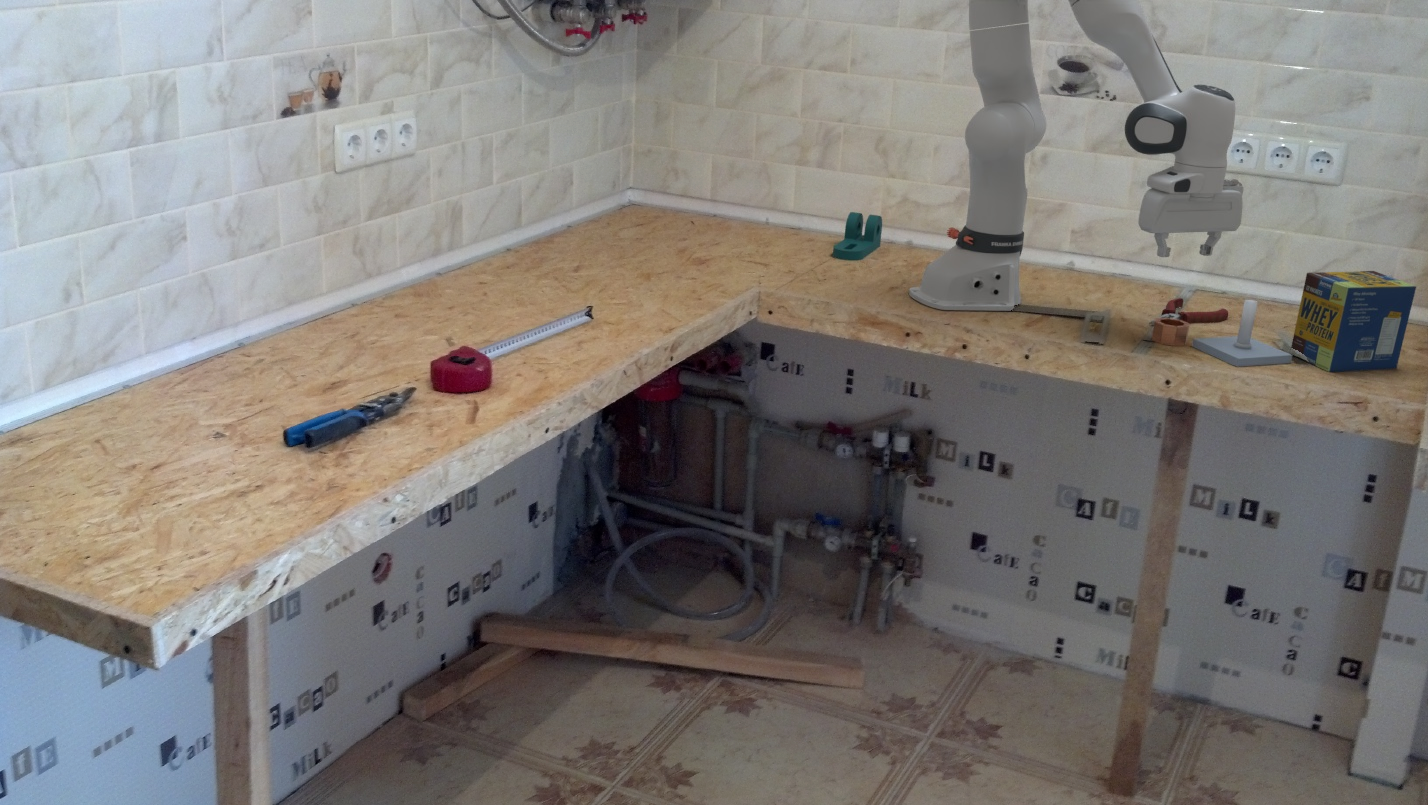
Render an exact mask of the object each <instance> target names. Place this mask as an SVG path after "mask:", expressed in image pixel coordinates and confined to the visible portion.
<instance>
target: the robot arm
mask: <svg viewBox="0 0 1428 805" xmlns="http://www.w3.org/2000/svg"><path fill="white" fill-rule="evenodd" d="M1028 1H1029V0H969V2H968V28H969V39H970V52H971V65H972V73H973V76H974V78H975V80H976V82H977V83H978V87H979V91H980V94H981V97H982V101H983V105H984V107H982V108H980V109H979V110H978V111H977V112H976V113H975V114H974V115H973V116H972V117H971V119H970V120H969V122H968V123H967V125H966V128H965V132H964V140H965V145H966V147H967V149H968V166H969V169H968V170H969V196H968V204H967V205H968V206H967V211H966V212H967V214H966V222H965V225H964V226H963V227H962V229H961V231H960V230H959V229H958V228H954V227H949V228H948V229H947V231H946V235H947V237H948V238H951V239H953V240H956V241H955V245H954V246H951V248H949V249H948V250H946V251H945V252H944V253H942V255H939V257H937V258H935V259H933V261H931V262H929V263H928V264H927V266H926V267H925V269H924V272H923V274H922V279H921V281H920V286H912V287H909V291H908V295H909V296H910V298H912V299H914V300H915V301H917V302H918V303H920V304H922V305H925V306H927V307H930V308H934V309H937V310H941V311H943V310H944V311H987V312H988V311H995V312H997V311H998V312H1001V311H1002V312H1011V310H1012V309H1013V308H1014V309H1015V307H1014V305H1017V306H1018V304H1019V305H1021V303H1022V296H1021V289H1020V288H1021V287H1020V257H1021V255H1022V251H1023V250H1024V249H1023V247H1024V241H1025V240H1024V239H1025V232H1024V231H1023V230H1024V229H1023V228H1024V223H1025V222H1024V221H1025V214H1026V207H1027V200H1028V189H1027V184H1026V175H1025V174H1026V173H1025V172H1026V170H1025V159H1026V154H1029V152H1032V151H1034V149H1035V148H1036V147H1037V146H1038V145H1039V144H1040V142H1041V141H1042V140H1043V138H1044V135H1045V134H1046V130H1047V117H1046V116H1045V113H1044V110H1042V104H1041V99H1040V98H1041V97H1040V94H1039V90H1038V86H1037V82H1036V78H1035V74H1034V73H1035V72H1034V69H1033V68H1034V67H1033V62H1032V59H1033V58H1032V49H1031V46H1032V45H1031V34H1030V23H1029V22H1030V20H1029V8H1028V7H1029V4H1028ZM1067 1H1068V3H1069V5H1070V8H1071V11H1072V13H1073V15H1074V17H1075V20H1076V21H1077V23H1078V25H1079V26H1080V27H1079V28H1081V30H1082V31H1083V33H1084V34H1085V36H1086V37H1087V38H1088V40H1090V41H1091V42H1093V43H1094V44H1096V45H1099V46H1101V47H1103V48H1105V49H1107V50H1108V51H1110V52H1112V53H1113V54H1115V55H1116V56H1117V57H1119V59H1120V60H1121V61H1122V62H1123V64H1125V66H1126V68H1127V69H1128V71H1129V73H1130V75H1131V77H1132V79H1133V82H1134V83H1135V85H1136V88H1137V90H1138V91H1139V94H1140V96H1141V98H1142V101H1143V102H1144V103H1141V104H1139V105H1137V106H1136V107H1134V108H1133V109H1132V110H1131V111H1130V112H1129V114H1128V115H1127V117H1126V120H1125V124H1124V136H1125V139H1126V142H1127V143H1128V145H1129V146H1130V147H1131V148H1132V149H1133V150H1134V151H1135V152H1138V153H1140V154H1143V155H1147V156H1158V155H1161V154H1162V155H1163V154H1172V155H1174V157H1175V158H1174V163H1173V165H1171V166H1170V167H1167V168H1165V169H1162V170H1161V171H1158V172H1155V173H1152V174H1150V175H1148V177H1147V178H1146V180H1147V181H1146V186H1147V187H1148V188H1149V189H1147V191H1146V192H1145V193H1144V195H1143V198H1142V201H1141V206H1140V209H1139V213H1138V220H1137V221H1138V222H1137V223H1138V226H1139V228H1140V230H1141V231H1144V232H1146V233H1149V234H1154V236H1153V238H1154V240H1155V242H1156V244H1157V251H1156V255H1157V256H1158V257H1160V258H1169V257H1170V254H1171V251H1172V250H1171V249H1172V248H1171V247H1170V246H1168V245H1167V241H1166V240H1168V239H1169V235H1170V234H1173V233H1174V234H1175V233H1185V234H1186V233H1206V235H1207V236H1208V237H1207V239H1206V240H1205V242H1204V243H1202V244H1200V247H1199V251H1198V253H1199V255H1200V256H1204V257H1205V256H1206V257H1207V256H1212V255H1213V250H1214V248H1215V246H1216V245H1217V243H1218V241H1220V239H1221V237H1222V233H1223V232H1236V231H1237V230H1238V229H1239V227H1241V223H1242V218H1243V217H1242V215H1243V195H1244V194H1243V193H1244V186H1243V185H1242V183H1241V182H1240V181H1239V180H1238V179H1234V178H1232V179H1225V178H1226V172H1227V168H1228V160H1227V159H1228V157H1227V156H1228V155H1227V154H1228V150H1229V147H1230V145H1231V143H1232V140H1233V136H1234V135H1233V134H1234V129H1235V120H1236V101H1235V99H1234V97H1233V95H1232V94H1231V93H1230V92H1228V91H1226V90H1225V89H1223V88H1219V87H1216V86H1212V85H1207V84H1194V85H1192V86H1191V87H1190V88H1188V89H1186V90H1184V91H1183V90H1182V89H1181V88H1180V86H1179V85H1178V84H1177V82H1176V80H1175V78H1174V76H1173V74H1172V72H1171V69H1170V67H1169V66H1168V63H1167V61H1166V60H1165V57H1164V55H1163V53H1162V51H1161V49H1160V47H1159V45H1158V43H1157V41H1156V39H1155V37H1154V35H1153V33H1152V31H1151V28H1150V25H1149V24H1148V21H1147V19H1146V16H1145V14H1144V11H1143V7H1142V6H1141V5H1142V4H1141V2H1140V0H1067ZM1012 311H1013V310H1012Z"/></svg>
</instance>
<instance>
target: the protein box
mask: <svg viewBox="0 0 1428 805" xmlns="http://www.w3.org/2000/svg"><path fill="white" fill-rule="evenodd" d="M1416 290H1417V286H1416V285H1414V284H1411V283H1409V282H1405V281H1403V280H1399V279H1397V278H1394V277H1393V276H1389V275H1386V274H1383V273H1380V272H1378V271H1375V270H1362V271H1359V270H1357V271H1356V270H1355V271H1328V272H1327V271H1326V272H1325V271H1324V272H1323V271H1322V272H1306V276H1305V280H1304V285H1303V290H1302V294H1301V300H1300V304H1299V309H1298V314H1297V317H1296V318H1297V319H1296V323H1295V327H1294V332H1293V337H1292V341H1291V347H1290V349H1291V348H1293V349H1295V350H1298V351H1299V352H1301V353H1302V354H1304V355H1305V356H1306V357H1307V360H1308V361H1309V363H1308V364H1310V365H1313V366H1315V367H1318V368H1319V369H1322V370H1324V371H1325V372H1329V373H1331V372H1332V373H1333V372H1334V373H1337V372H1355V371H1356V372H1357V371H1373V370H1375V371H1377V370H1395V369H1397V368H1398V363H1399V360H1400V356H1401V355H1400V354H1401V350H1402V347H1403V342H1404V339H1405V335H1406V331H1407V327H1408V323H1409V319H1410V314H1411V310H1412V306H1413V302H1414V299H1415V298H1414V297H1415V294H1416Z"/></svg>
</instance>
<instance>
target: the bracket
mask: <svg viewBox="0 0 1428 805" xmlns="http://www.w3.org/2000/svg"><path fill="white" fill-rule="evenodd" d="M863 215H864V214H863V213H861V212H856V211H851V212H849V214H848V216H847V218H846V222H845V227H844V228H845V229H844V238H843V239H842V240H841V241H840V242H838V243H836V244H835V245H833V250H832V257H833V258H835V259H838V260H843V261H849V262H850V261H855V262H856V261H857V262H858V261H863V259H865V258H866V257H868V256H870V254H872V253H873V252H875V251H876V250H877V249H879V248H880V247H881V243H882V242H881V239H882V230H883V218H882V216H881V215H876V214H868V216H867V219H866V222H865V225H864V216H863ZM863 228H864V230H863ZM863 231H864V234H863Z"/></svg>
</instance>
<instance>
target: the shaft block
mask: <svg viewBox="0 0 1428 805" xmlns="http://www.w3.org/2000/svg"><path fill="white" fill-rule="evenodd" d="M1257 307H1258V301H1257V300H1255V299H1245V300H1244V302H1243V307H1242V312H1241V313H1242V314H1241V317H1240V323H1239V327H1238V333H1237V335H1233V336H1216V337H1201V338H1200V337H1199V338H1193V339H1192V344H1191V347H1192V348H1195V349H1196V350H1199V351H1200V352H1204V353H1205V354H1207V355H1209V356H1211V357H1212V356H1213V357H1214V358H1217V359H1218V360H1221V361H1222V362H1225V363H1227V364H1229V365H1233V366H1234V367H1237V368H1238V367H1241V368H1242V367H1255V366H1266V365H1267V366H1268V365H1270V366H1271V365H1282V364H1284V365H1285V364H1292V361H1293V360H1292V359H1293V355H1291V354H1290V352H1289V353H1288V352H1287V351H1283V350H1281V349H1279V348H1276V347H1274V346H1271V345H1269V344H1267V343H1265V342H1263V341H1260V340H1258V339H1256V338H1255V339H1254V338H1252V334H1253V328H1254V324H1255V317H1256V313H1257Z"/></svg>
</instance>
